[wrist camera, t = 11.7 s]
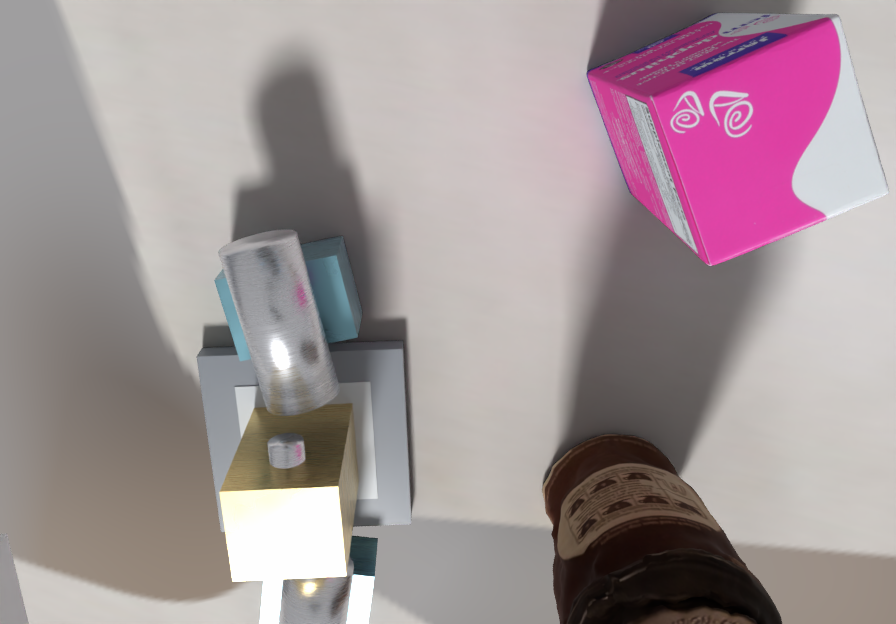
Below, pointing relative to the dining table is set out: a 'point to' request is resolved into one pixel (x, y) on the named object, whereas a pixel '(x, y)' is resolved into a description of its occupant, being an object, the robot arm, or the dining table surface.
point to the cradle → (361, 382)
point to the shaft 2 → (325, 593)
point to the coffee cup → (642, 543)
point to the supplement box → (741, 129)
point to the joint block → (292, 495)
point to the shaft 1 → (289, 314)
